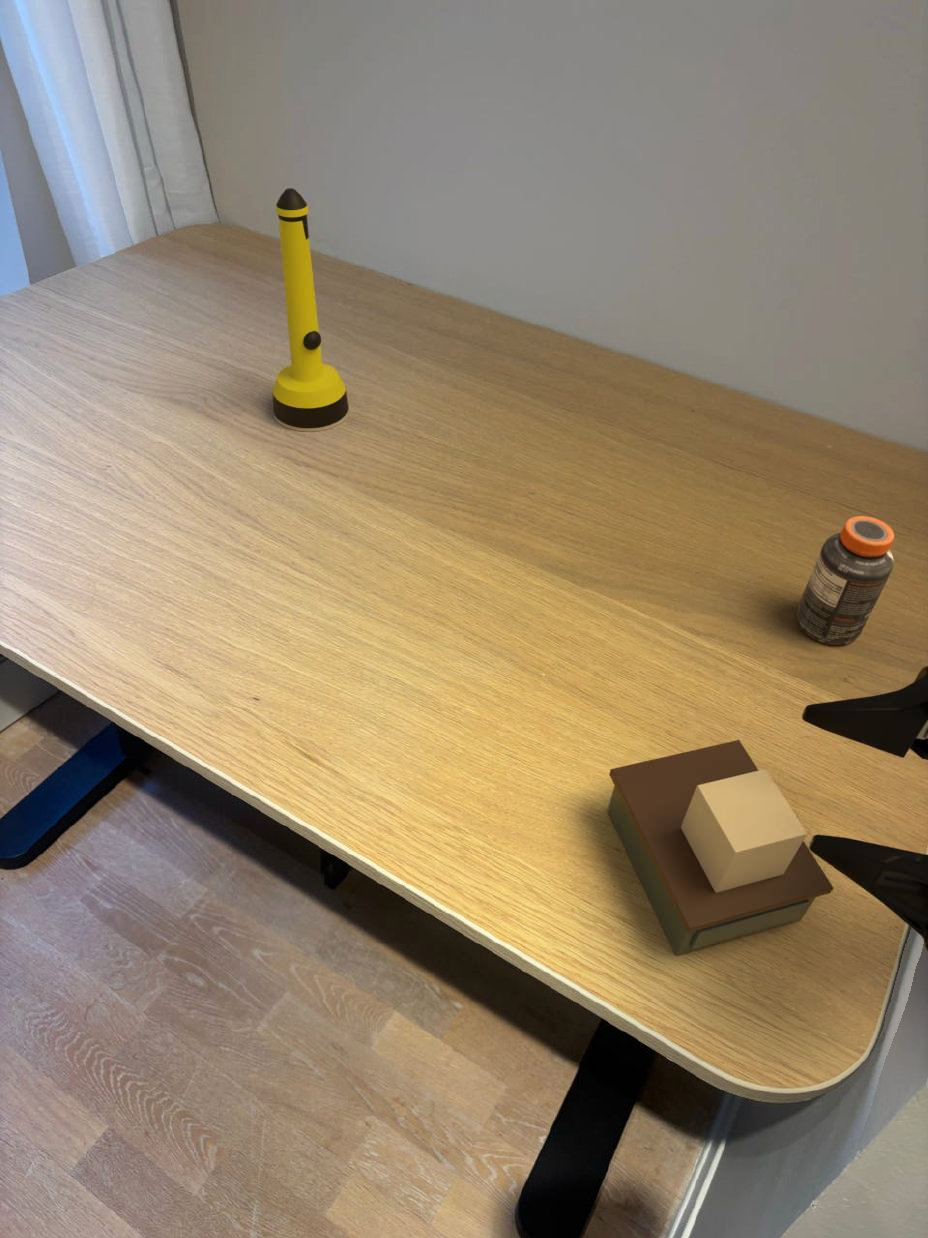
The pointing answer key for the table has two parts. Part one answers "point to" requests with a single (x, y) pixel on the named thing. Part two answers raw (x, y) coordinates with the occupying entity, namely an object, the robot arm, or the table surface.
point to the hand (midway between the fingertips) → (807, 773)
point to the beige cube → (742, 830)
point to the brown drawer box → (670, 869)
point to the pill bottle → (846, 581)
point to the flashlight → (303, 334)
